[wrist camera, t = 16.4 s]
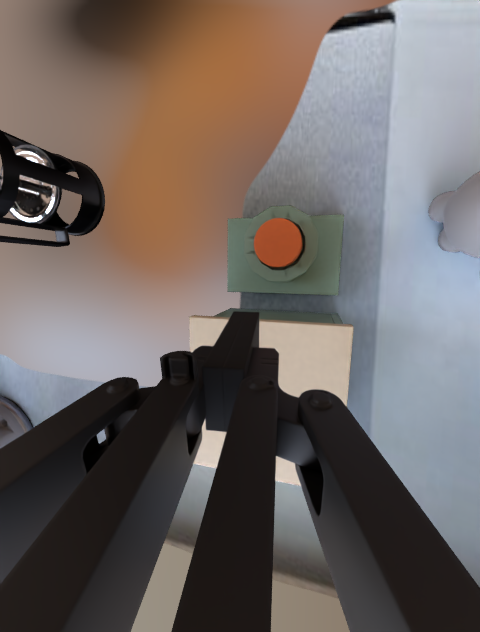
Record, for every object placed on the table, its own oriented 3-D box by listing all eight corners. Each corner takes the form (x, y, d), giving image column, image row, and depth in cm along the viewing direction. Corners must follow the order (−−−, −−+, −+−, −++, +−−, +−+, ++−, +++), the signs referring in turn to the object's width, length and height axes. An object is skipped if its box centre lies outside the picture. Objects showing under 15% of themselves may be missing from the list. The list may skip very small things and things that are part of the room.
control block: (232, 290, 33) (221, 293, 29) (232, 215, 31) (221, 208, 27) (336, 293, 30) (339, 297, 26) (342, 211, 28) (347, 202, 24)
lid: (193, 315, 23) (188, 316, 22) (352, 324, 20) (353, 326, 19) (195, 457, 25) (191, 463, 24) (338, 486, 22) (339, 494, 21)
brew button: (257, 267, 28) (253, 266, 26) (258, 222, 27) (254, 218, 25) (301, 267, 27) (300, 267, 25) (303, 221, 26) (302, 216, 24)
